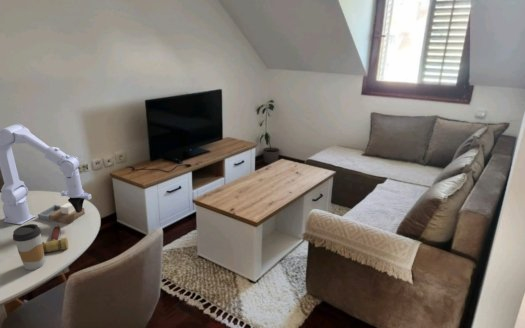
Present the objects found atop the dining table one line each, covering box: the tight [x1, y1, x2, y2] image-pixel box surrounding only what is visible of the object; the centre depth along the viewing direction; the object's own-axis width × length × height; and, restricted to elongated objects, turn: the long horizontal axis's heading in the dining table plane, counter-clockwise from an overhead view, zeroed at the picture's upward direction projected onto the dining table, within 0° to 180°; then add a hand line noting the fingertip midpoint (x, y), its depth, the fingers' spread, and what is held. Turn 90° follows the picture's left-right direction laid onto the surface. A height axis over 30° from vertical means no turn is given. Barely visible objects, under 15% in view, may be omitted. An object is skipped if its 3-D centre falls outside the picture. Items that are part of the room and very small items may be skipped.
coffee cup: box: [12, 223, 46, 271], centre depth 124 cm, size 8×8×15 cm
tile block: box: [60, 202, 75, 214], centre depth 158 cm, size 4×4×3 cm
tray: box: [37, 204, 62, 222], centre depth 161 cm, size 6×10×2 cm, turn 165°
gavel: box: [42, 225, 69, 254], centre depth 142 cm, size 21×5×10 cm
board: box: [49, 207, 86, 225], centre depth 159 cm, size 10×10×3 cm
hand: (79, 211), depth 156 cm, fingers closed
